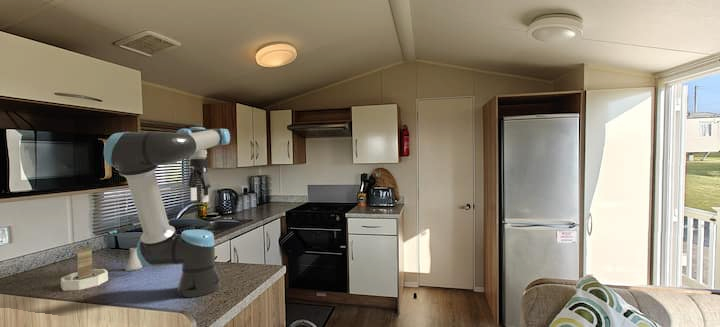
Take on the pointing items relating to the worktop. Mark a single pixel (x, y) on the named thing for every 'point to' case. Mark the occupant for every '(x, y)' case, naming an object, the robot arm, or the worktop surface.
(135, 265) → the flask
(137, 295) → the worktop surface
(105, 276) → the white octagonal tray
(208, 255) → the robot arm
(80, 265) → the wooden block
